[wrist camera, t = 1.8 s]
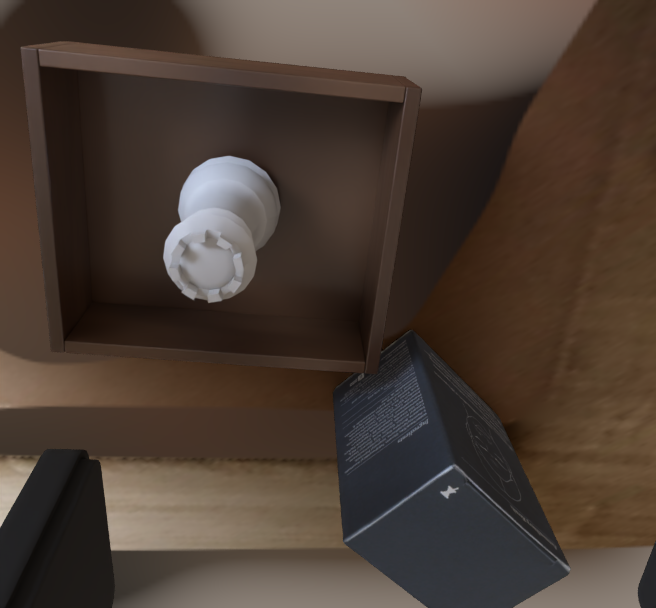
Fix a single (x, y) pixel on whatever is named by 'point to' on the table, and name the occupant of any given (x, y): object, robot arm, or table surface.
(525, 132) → the table surface
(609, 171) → the table surface
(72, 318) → the tray
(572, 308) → the table surface
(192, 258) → the rook chess piece
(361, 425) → the box
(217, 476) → the table surface
